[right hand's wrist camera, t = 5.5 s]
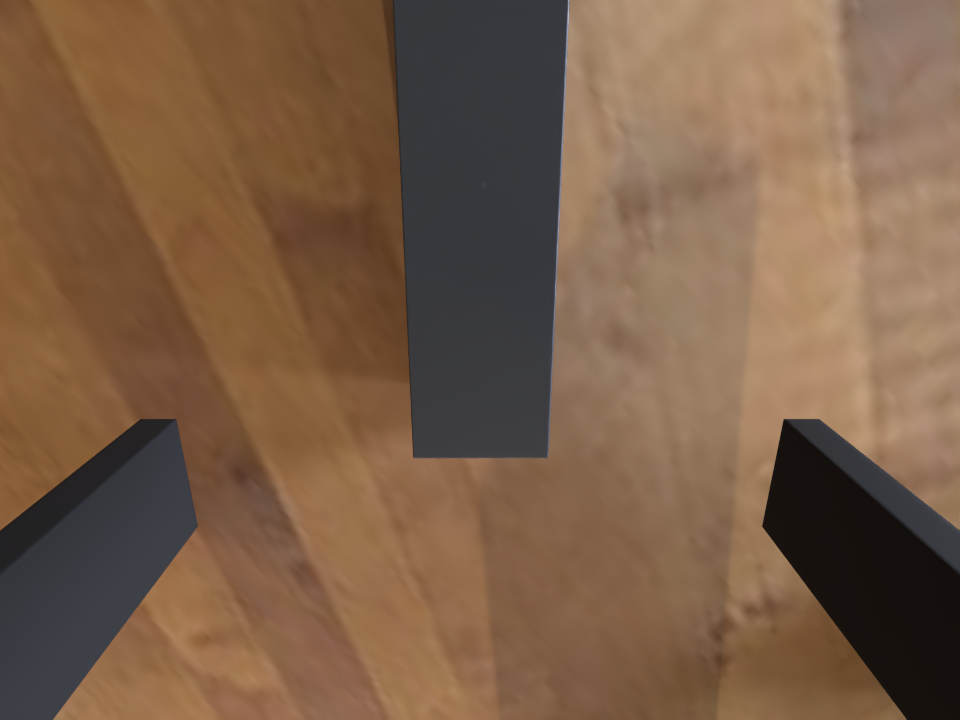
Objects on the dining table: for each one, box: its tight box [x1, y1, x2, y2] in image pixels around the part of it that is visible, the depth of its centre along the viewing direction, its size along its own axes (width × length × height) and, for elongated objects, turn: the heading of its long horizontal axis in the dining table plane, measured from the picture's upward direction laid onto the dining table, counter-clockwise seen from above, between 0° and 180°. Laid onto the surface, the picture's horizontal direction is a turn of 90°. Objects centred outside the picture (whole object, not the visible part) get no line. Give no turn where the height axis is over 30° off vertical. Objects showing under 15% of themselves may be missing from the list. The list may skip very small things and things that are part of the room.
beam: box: [393, 0, 569, 458], centre depth 19 cm, size 30×5×7 cm, turn 0°
